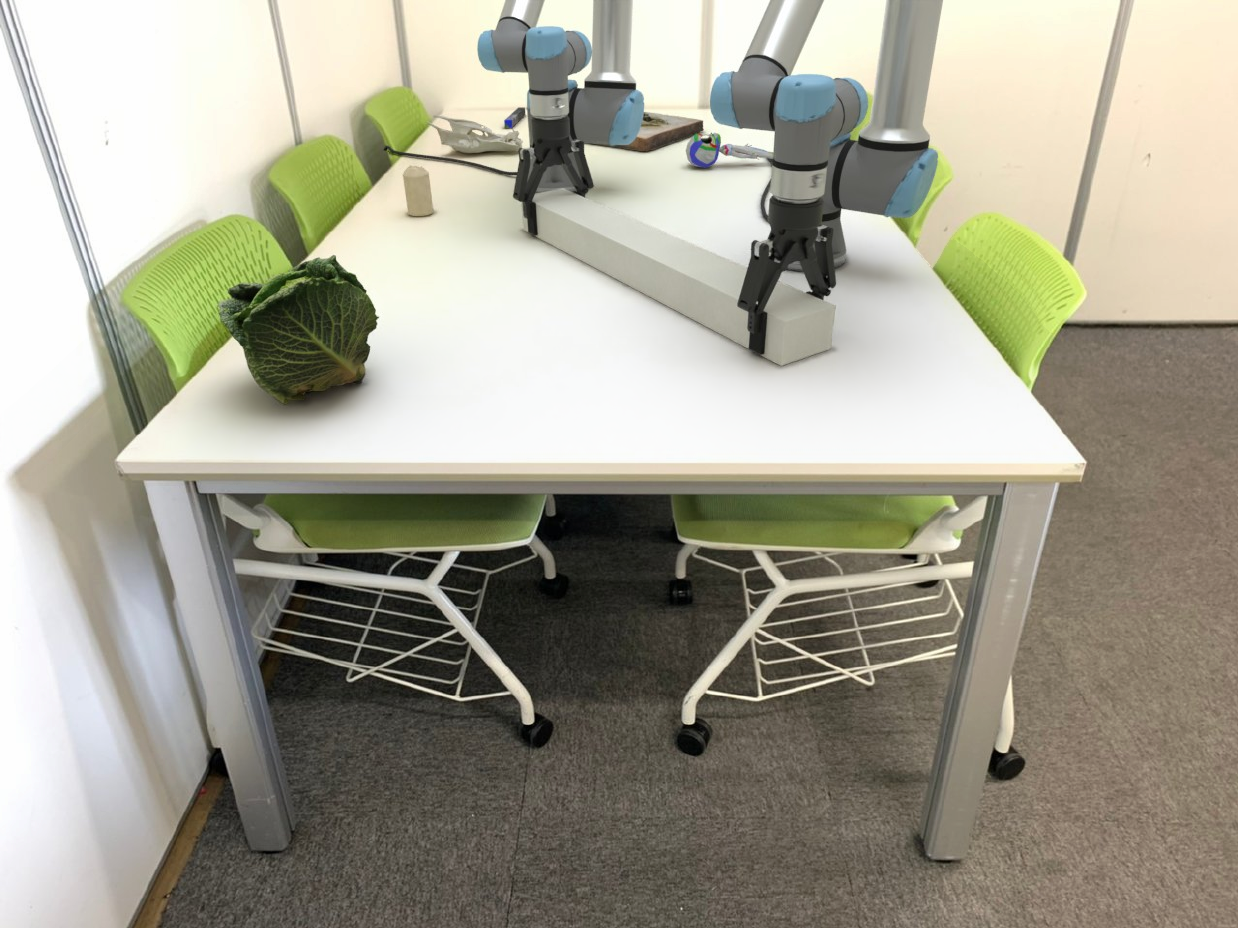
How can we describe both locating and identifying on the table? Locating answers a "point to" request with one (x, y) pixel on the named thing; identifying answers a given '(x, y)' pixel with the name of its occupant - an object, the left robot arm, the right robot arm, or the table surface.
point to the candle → (418, 191)
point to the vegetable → (302, 328)
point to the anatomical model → (476, 137)
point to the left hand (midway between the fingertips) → (555, 228)
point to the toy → (718, 150)
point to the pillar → (514, 117)
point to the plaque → (662, 131)
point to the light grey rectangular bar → (681, 275)
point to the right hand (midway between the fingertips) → (783, 342)
